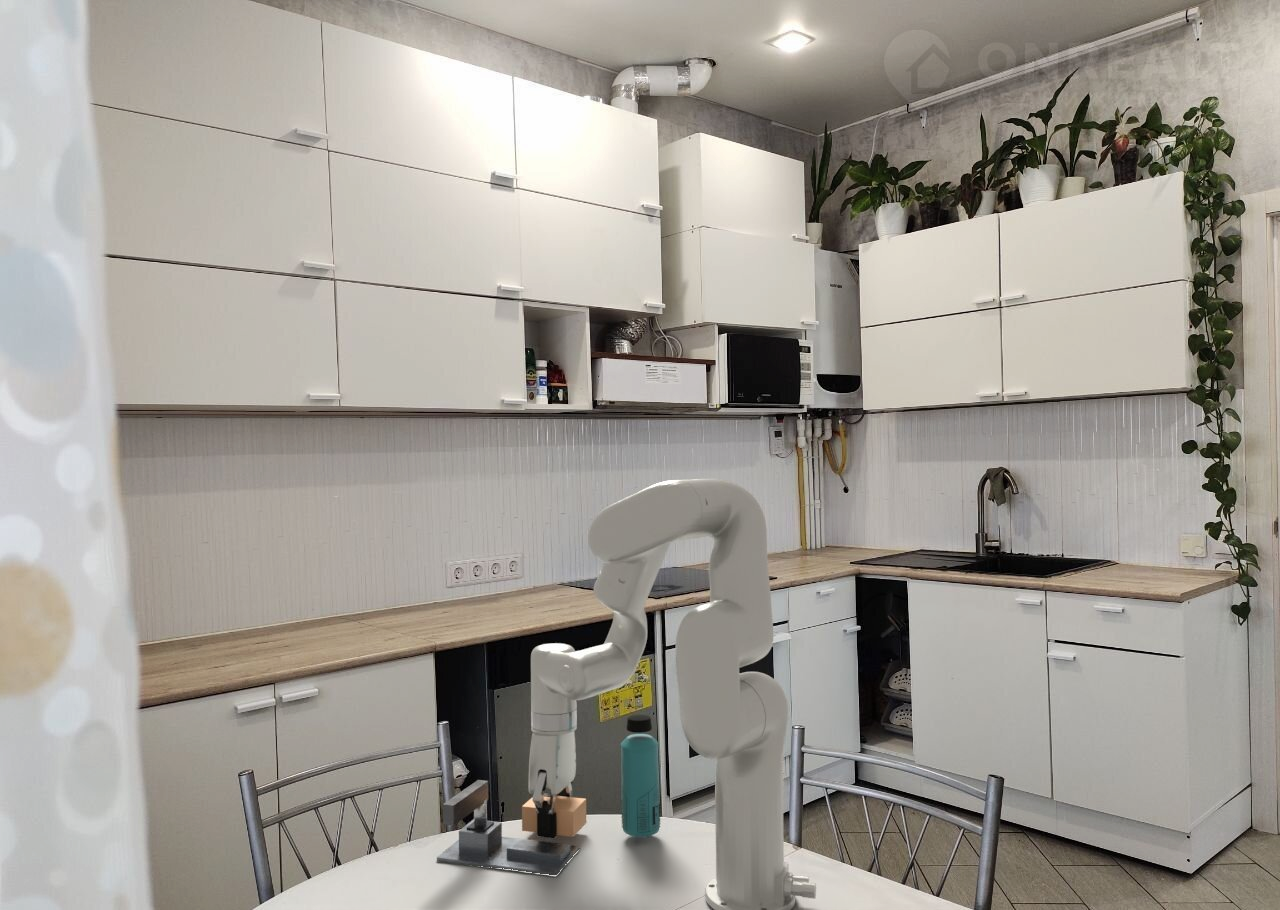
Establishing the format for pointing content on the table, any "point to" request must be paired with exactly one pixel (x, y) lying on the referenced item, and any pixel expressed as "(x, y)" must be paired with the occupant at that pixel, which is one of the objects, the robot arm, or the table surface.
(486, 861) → the latch base
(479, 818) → the t key
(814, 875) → the table surface
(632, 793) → the beverage bottle
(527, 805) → the cover
